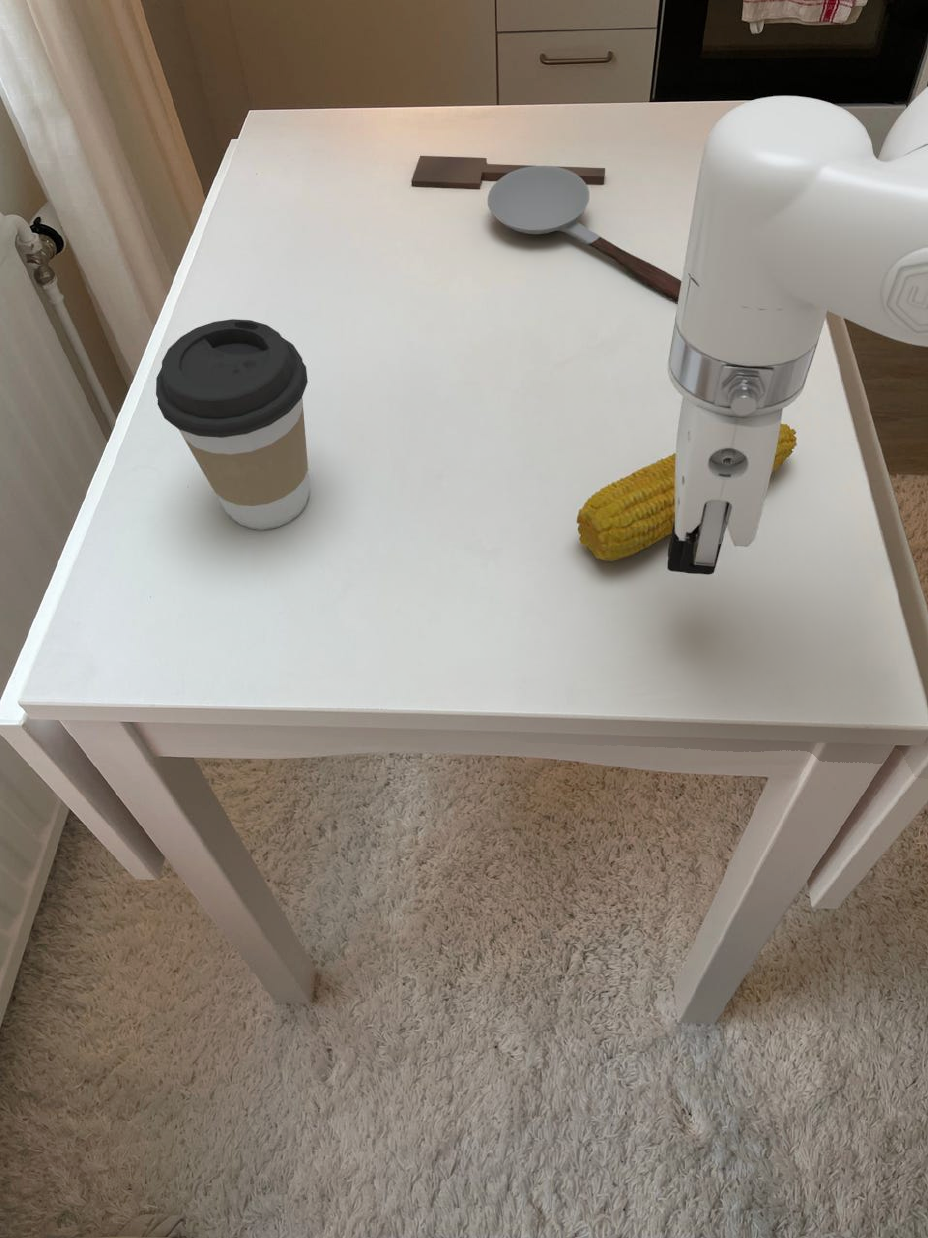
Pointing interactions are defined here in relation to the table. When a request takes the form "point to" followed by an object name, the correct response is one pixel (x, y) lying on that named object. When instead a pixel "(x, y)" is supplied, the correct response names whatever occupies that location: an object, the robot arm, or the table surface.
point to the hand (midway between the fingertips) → (690, 563)
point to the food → (643, 506)
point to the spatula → (478, 172)
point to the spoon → (563, 216)
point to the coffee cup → (241, 417)
